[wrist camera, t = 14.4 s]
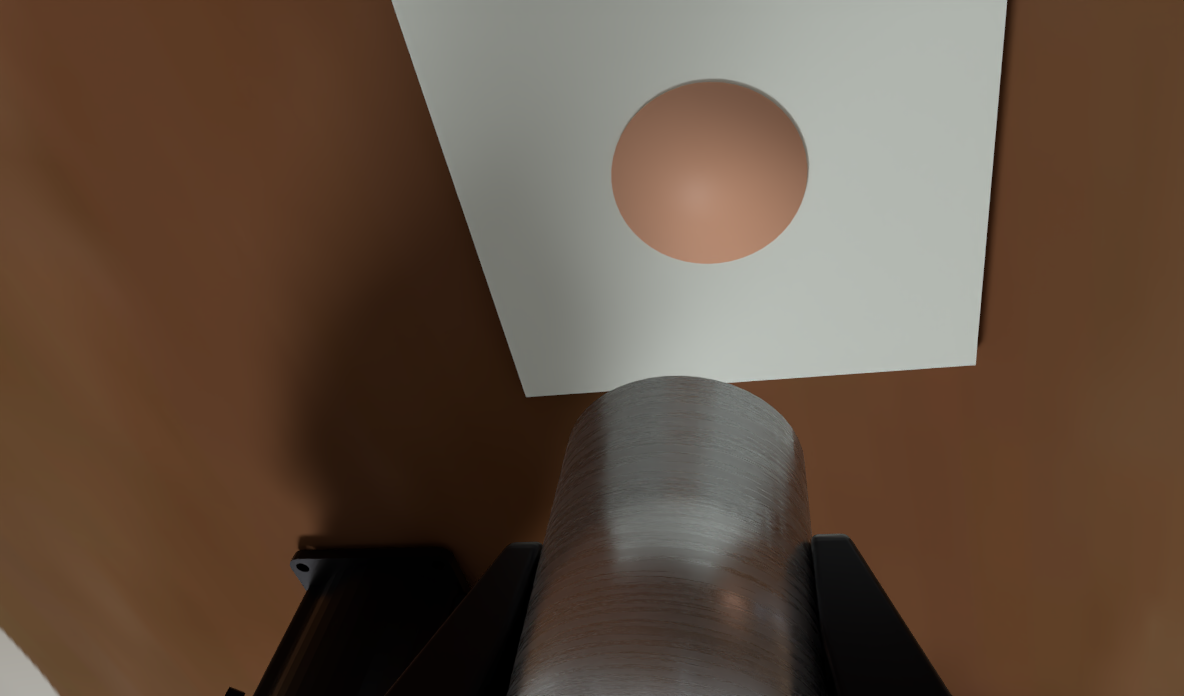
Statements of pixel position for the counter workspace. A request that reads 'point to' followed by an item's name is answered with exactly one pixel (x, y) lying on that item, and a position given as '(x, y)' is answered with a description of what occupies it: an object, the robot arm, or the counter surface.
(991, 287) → the counter surface
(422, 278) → the counter surface
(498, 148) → the board
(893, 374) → the counter surface
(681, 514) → the pin
